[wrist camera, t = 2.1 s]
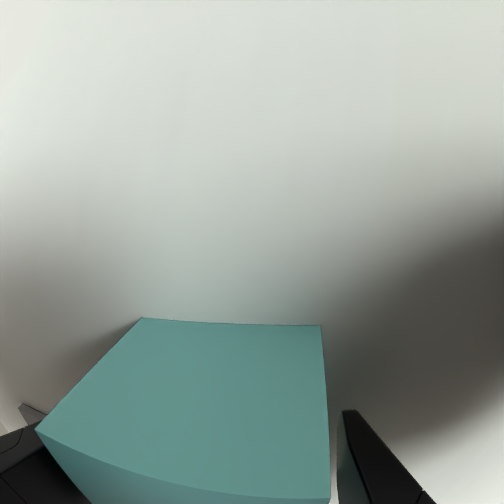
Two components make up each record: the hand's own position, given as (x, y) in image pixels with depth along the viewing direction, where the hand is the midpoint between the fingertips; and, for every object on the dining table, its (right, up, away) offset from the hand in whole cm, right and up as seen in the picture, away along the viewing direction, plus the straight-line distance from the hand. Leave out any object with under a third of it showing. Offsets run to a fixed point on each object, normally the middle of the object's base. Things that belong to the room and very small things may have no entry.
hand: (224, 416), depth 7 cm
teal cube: (0, 0, +1) cm, 1 cm away
